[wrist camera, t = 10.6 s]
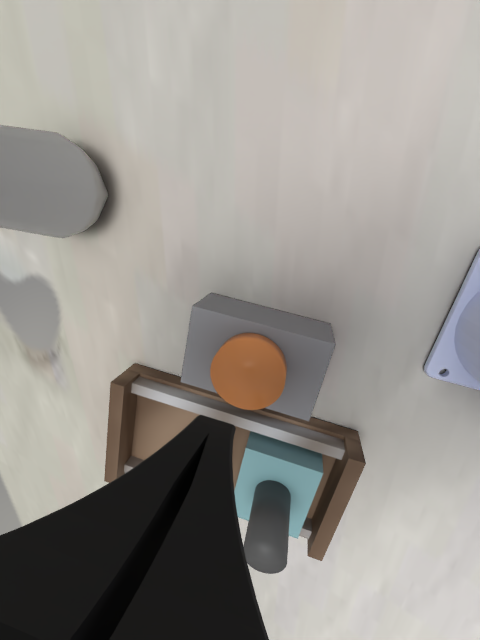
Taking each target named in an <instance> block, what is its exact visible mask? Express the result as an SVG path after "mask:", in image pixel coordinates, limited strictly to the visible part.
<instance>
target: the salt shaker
mask: <svg viewBox="0 0 480 640" xmlns="http://www.w3.org/2000/svg"><path fill="white" fill-rule="evenodd" d="M107 198H108V193H107V190H106V188H105V185H104V183H103V180H102V177H101V175H100V172H99V169H98V167H97V165H96V164H95V163H94V162H93V161H92V160H91V159H90V157H89V156H88V155H87V154H86V153H85V152H84V150H83V149H81V148H80V147H78V146H77V145H75V144H74V143H73V142H71V141H70V140H68V139H67V138H66V137H64V136H62V135H61V134H59V133H57V132H49V131H41V130H34V129H26V128H19V127H12V126H4V125H0V228H6V229H12V230H17V231H23V232H29V233H34V234H40V235H46V236H52V237H58V238H66V237H69V236H72V235H75V234H77V233H80V232H83V231H85V230H87V229H88V228H89V227H90V226H91V225H92V224H94V223H95V222H96V221H97V220H98V219H99V216H100V214H101V212H102V209H103V207H104V205H105V202H106V200H107Z"/></svg>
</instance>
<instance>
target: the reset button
mask: <svg viewBox="0 0 480 640" xmlns="http://www.w3.org/2000/svg"><path fill="white" fill-rule="evenodd" d="M286 373H287V364H286V359H285V357H284V354H283V353H282V351H281V349H280V348H279V347H278V346H277V345H276V344H275V343H274V342H273V341H272V340H270V339H268V338H267V337H265V336H262V335H259V334H255V333H243V334H238V335H235V336H233V337H231V338H230V339H228V340H227V341H226V342H225V343H224V344H223V345H222V346H221V348H220V349H219V351H218V352H217V353H216V355H215V356H214V358H213V360H212V363H211V368H210V376H211V381H212V384H213V386H214V388H215V390H216V392H217V393H218V394H219V395H220V396H221V397H222V398H223V399H224V400H225V401H226V402H228V403H229V404H231V405H233V406H235V407H238V408H241V409H246V410H258V409H262V408H265V407H268V406H270V405H271V404H273V403H274V402H275V401H276V400H277V399H278V398H279V397H280V395H281V394H282V392H283V389H284V386H285V380H286Z"/></svg>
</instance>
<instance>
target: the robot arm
mask: <svg viewBox="0 0 480 640" xmlns="http://www.w3.org/2000/svg"><path fill="white" fill-rule="evenodd" d="M442 369H446V372H445V373H443V374H439V372H440V371H441V370H442ZM424 371H425V372H426V374H427V375H428V376H430V377H432V378H436V379H439V380H443V381H447V382H450V383H454V384H458V385H462V386H465V387H469V388H473V389H476V390H480V249H479V251H478V253H477V255H476V257H475V259H474V261H473V263H472V266H471V268H470V270H469V272H468V274H467V276H466V278H465V280H464V283H463V285H462V287H461V289H460V291H459V293H458V295H457V297H456V300H455V302H454V304H453V306H452V308H451V310H450V312H449V315H448V317H447V319H446V321H445V323H444V325H443V327H442V329H441V332H440V334H439V336H438V338H437V340H436V342H435V344H434V347H433V349H432V351H431V353H430V355H429V357H428V359H427V361H426V364H425V366H424ZM235 430H236V428H235V426H234V425H233V424H230V423H227V422H223V421H220V420H217V419H213V418H210V417H207V416H204V415H199V416H197V417H196V418H195V419H194V420H193V421H192V422H191V423H190V424H189V425H187V426H186V427H185V428H184V429H183V430H182V431H181V432H180V433H178V434H177V435H176V436H175V437H174V438H173V439H171V440H170V441H169V442H168V443H166V444H165V445H164V446H163V447H161V448H160V449H159V450H158V451H156V452H155V453H154V454H152V455H151V456H149V457H148V458H147V459H145V460H144V461H142V462H141V463H140V464H138V465H137V466H135V467H134V468H133V469H131V470H129V471H128V472H126V473H125V474H123V475H122V476H120V477H119V478H117V479H115V480H114V481H112V482H110V483H109V484H107V485H105V486H104V487H102V488H100V489H98V490H96V491H95V492H93V493H91V494H89V495H87V496H85V497H84V498H82V499H80V500H78V501H76V502H74V503H72V504H70V505H68V506H66V507H64V508H62V509H60V510H58V511H55V512H53V513H51V514H49V515H47V516H45V517H42V518H40V519H38V520H36V521H34V522H31V523H29V524H27V525H25V526H23V527H20V528H18V529H16V530H13V531H10V532H8V533H5V534H3V535H0V640H269V639H268V636H267V633H266V629H265V626H264V623H263V620H262V616H261V613H260V610H259V606H258V603H257V600H256V596H255V592H254V588H253V584H252V580H251V577H250V573H249V569H248V565H247V561H246V557H245V553H244V548H243V543H242V538H241V533H240V528H239V522H238V516H237V509H236V502H235V493H234V482H233V463H232V453H233V439H234V434H235Z"/></svg>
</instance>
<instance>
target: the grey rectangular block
mask: <svg viewBox="0 0 480 640" xmlns="http://www.w3.org/2000/svg"><path fill="white" fill-rule="evenodd" d="M243 333H255V334H259V335H262V336H265V337H267V338H268V339H270V340H272V341H273V342H274V343H275V344H276V345H277V346H278V347H279V348H280V349H281V351H282V353H283V354H284V357H285V359H286V364H287V373H286V380H285V386H284V389H283V392H282V394H281V395H280V397H279V398H278V399H277V400H276V401H275V402H274V403H273V404H271V405H270V406H268V407H265V408H267V409H270V410H273V411H277V412H280V413H283V414H286V415H290V416H293V417H296V418H299V419H303V420H306V421H309V420H310V417H311V414H312V411H313V408H314V405H315V402H316V399H317V397H318V394H319V391H320V388H321V385H322V382H323V379H324V376H325V373H326V370H327V368H328V365H329V362H330V359H331V356H332V353H333V350H334V347H335V340H334V336H333V331H332V327H331V324H330V323H326V322H322V321H318V320H314V319H310V318H307V317H303V316H299V315H295V314H291V313H287V312H283V311H280V310H276V309H272V308H268V307H264V306H260V305H256V304H253V303H249V302H245V301H241V300H237V299H233V298H229V297H226V296H222V295H218V294H214V293H210V294H209V295H207V296H206V297H204V298H203V299H201V300H200V301H199V302H197V303H196V304H194V305H193V306H192V311H191V317H190V324H189V330H188V337H187V343H186V350H185V356H184V362H183V369H182V375H181V382H182V383H186V384H189V385H192V386H195V387H199V388H202V389H205V390H208V391H212V392H215V393H217V392H216V390H215V388H214V386H213V384H212V381H211V376H210V368H211V363H212V360H213V358H214V356H215V355H216V353H217V352H218V351H219V349H220V348H221V346H222V345H223V344H224V343H225V342H226V341H227V340H228V339H230V338H231V337H233V336H235V335H238V334H243Z"/></svg>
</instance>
